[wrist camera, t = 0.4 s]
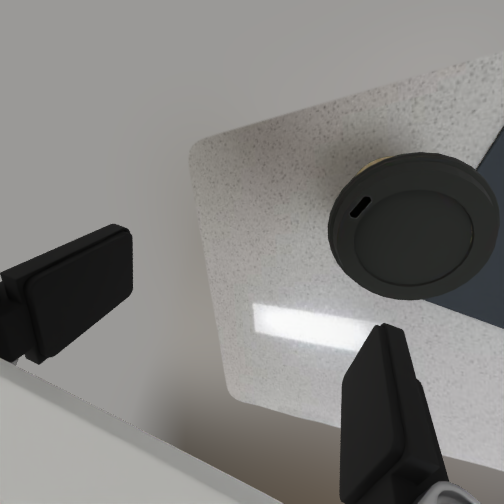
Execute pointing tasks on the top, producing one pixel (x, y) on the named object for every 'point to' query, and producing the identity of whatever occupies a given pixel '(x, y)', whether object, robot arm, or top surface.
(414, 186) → the coffee cup
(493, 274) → the mat
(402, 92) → the top surface
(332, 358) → the top surface
